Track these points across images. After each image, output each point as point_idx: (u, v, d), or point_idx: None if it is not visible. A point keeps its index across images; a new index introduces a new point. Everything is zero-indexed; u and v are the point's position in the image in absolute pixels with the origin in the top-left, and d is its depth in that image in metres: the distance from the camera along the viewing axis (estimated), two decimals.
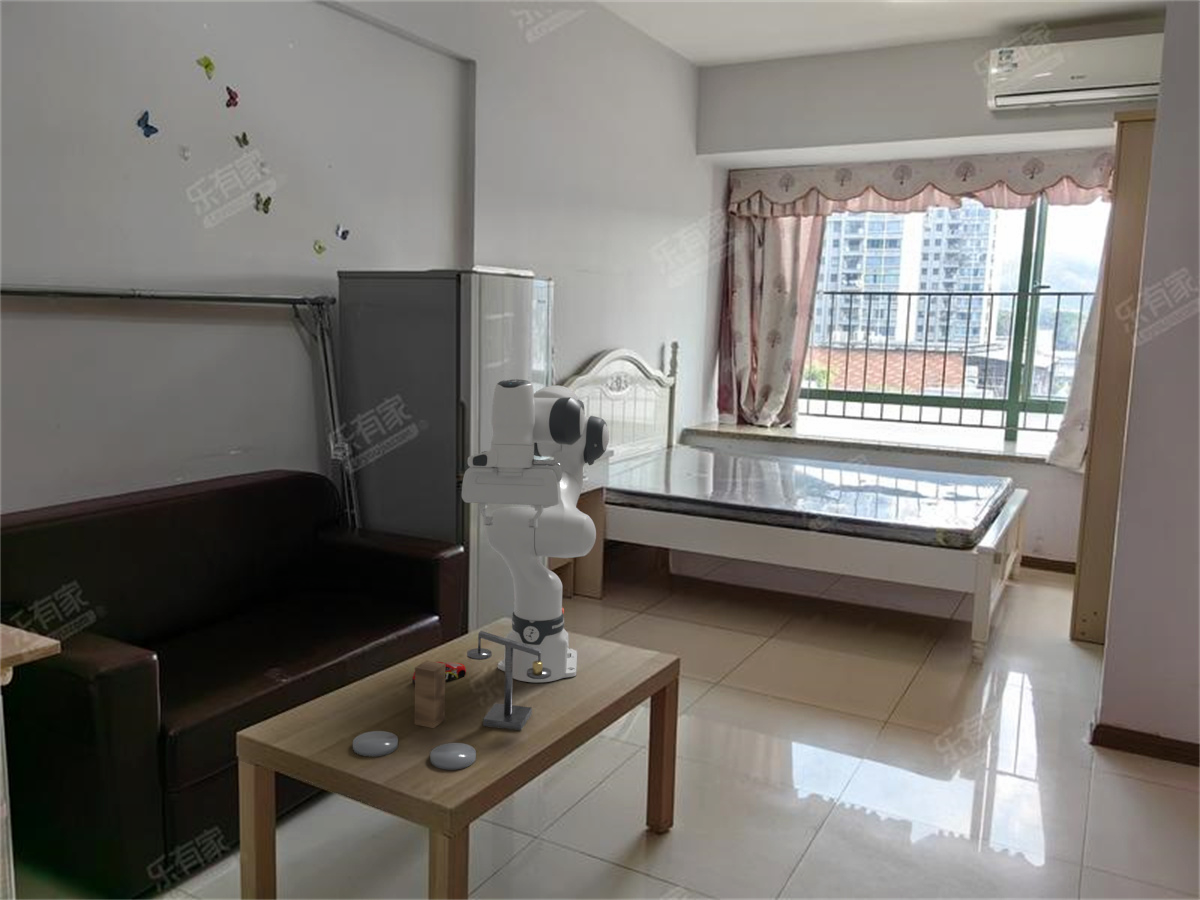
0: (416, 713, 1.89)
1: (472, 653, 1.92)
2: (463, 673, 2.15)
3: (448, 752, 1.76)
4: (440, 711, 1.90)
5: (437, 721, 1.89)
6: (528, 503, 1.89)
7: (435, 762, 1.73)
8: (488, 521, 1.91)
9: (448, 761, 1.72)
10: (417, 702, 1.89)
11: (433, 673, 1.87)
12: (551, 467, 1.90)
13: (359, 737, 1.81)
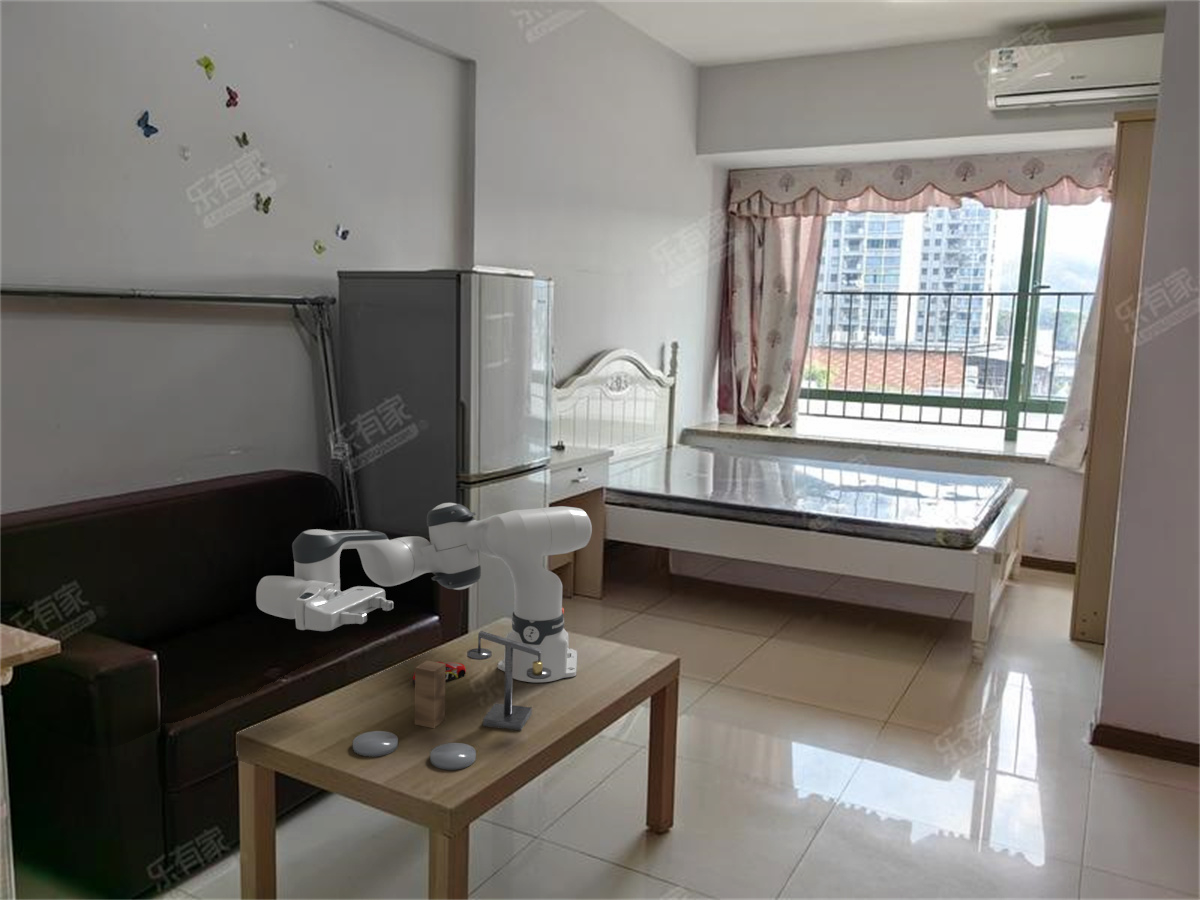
0: (416, 713, 1.89)
1: (472, 653, 1.92)
2: (463, 673, 2.15)
3: (448, 752, 1.76)
4: (440, 711, 1.90)
5: (437, 721, 1.89)
6: (369, 596, 1.98)
7: (435, 762, 1.73)
8: (361, 613, 1.88)
9: (448, 761, 1.72)
10: (417, 702, 1.89)
11: (433, 673, 1.87)
12: None
13: (359, 737, 1.81)
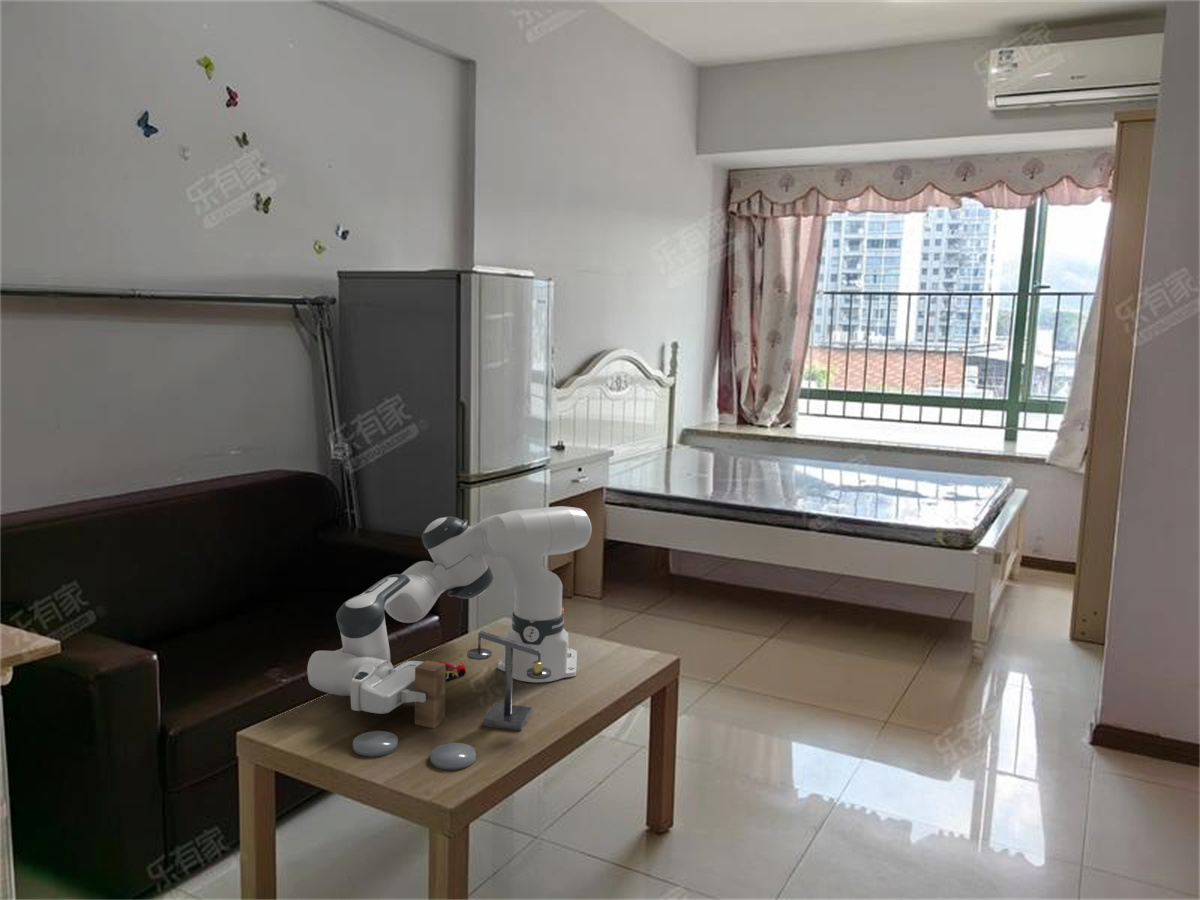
0: (416, 713, 1.89)
1: (472, 653, 1.92)
2: (463, 672, 2.16)
3: (448, 752, 1.76)
4: (440, 711, 1.90)
5: (437, 721, 1.89)
6: None
7: (435, 762, 1.73)
8: (423, 691, 1.88)
9: (448, 761, 1.72)
10: (417, 702, 1.89)
11: (433, 673, 1.87)
12: None
13: (359, 737, 1.81)
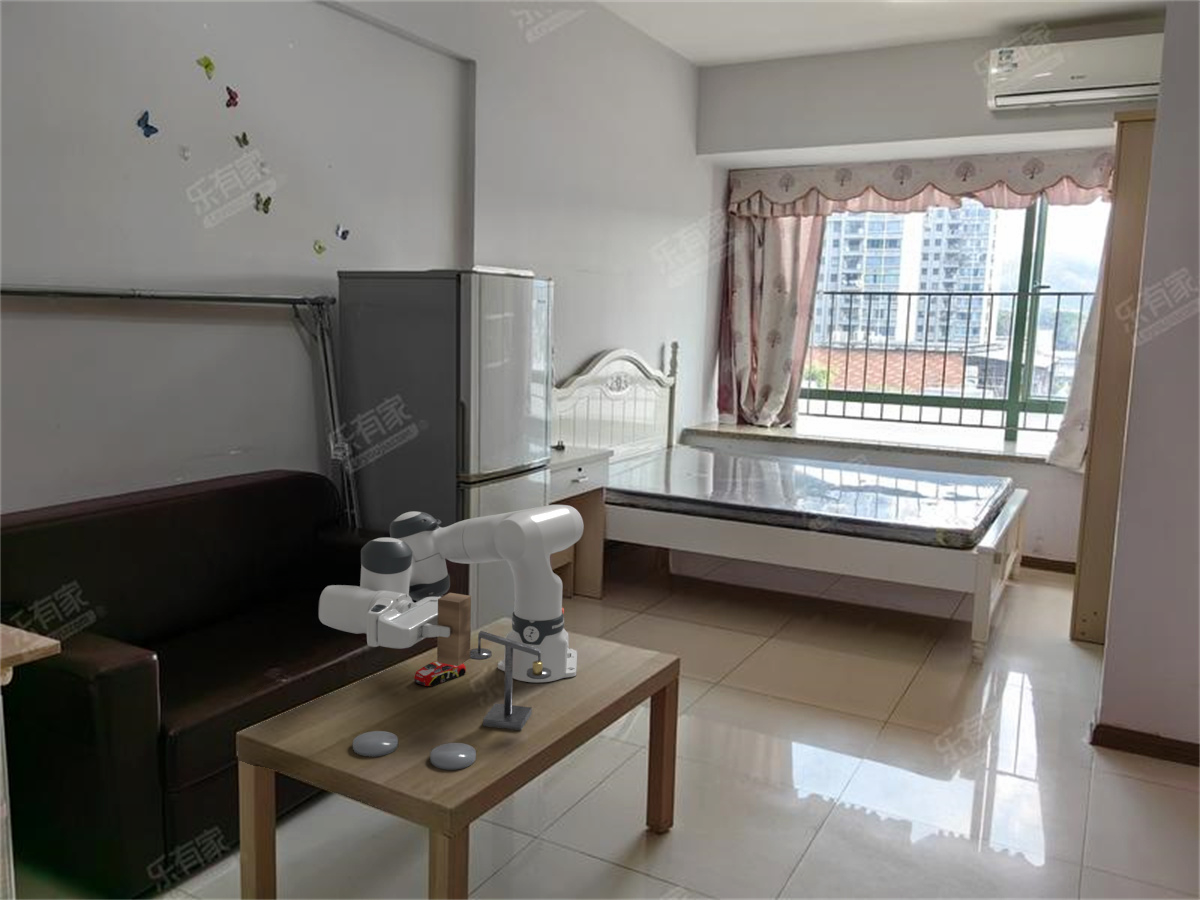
0: (439, 650, 1.71)
1: (472, 653, 1.92)
2: (463, 671, 2.16)
3: (448, 752, 1.76)
4: (465, 648, 1.72)
5: (462, 658, 1.71)
6: None
7: (435, 762, 1.73)
8: (447, 625, 1.70)
9: (448, 761, 1.72)
10: (440, 637, 1.71)
11: (458, 605, 1.69)
12: None
13: (359, 737, 1.81)
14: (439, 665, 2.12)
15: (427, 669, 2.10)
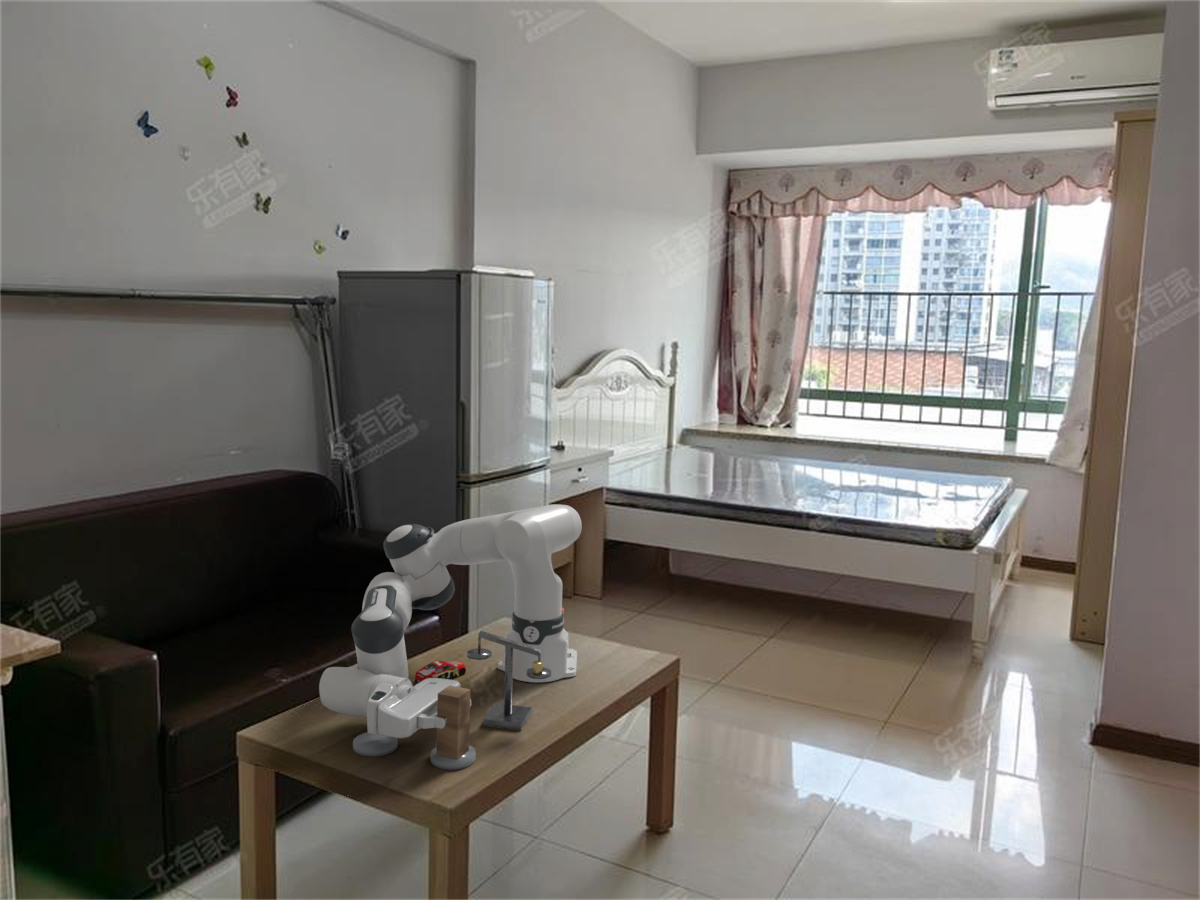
0: (438, 743, 1.74)
1: (472, 653, 1.92)
2: (463, 671, 2.16)
3: None
4: (464, 741, 1.75)
5: (461, 752, 1.74)
6: None
7: (435, 762, 1.73)
8: (441, 716, 1.70)
9: (448, 761, 1.72)
10: (439, 731, 1.73)
11: (457, 700, 1.71)
12: None
13: (359, 737, 1.81)
14: (440, 665, 2.12)
15: (428, 669, 2.11)
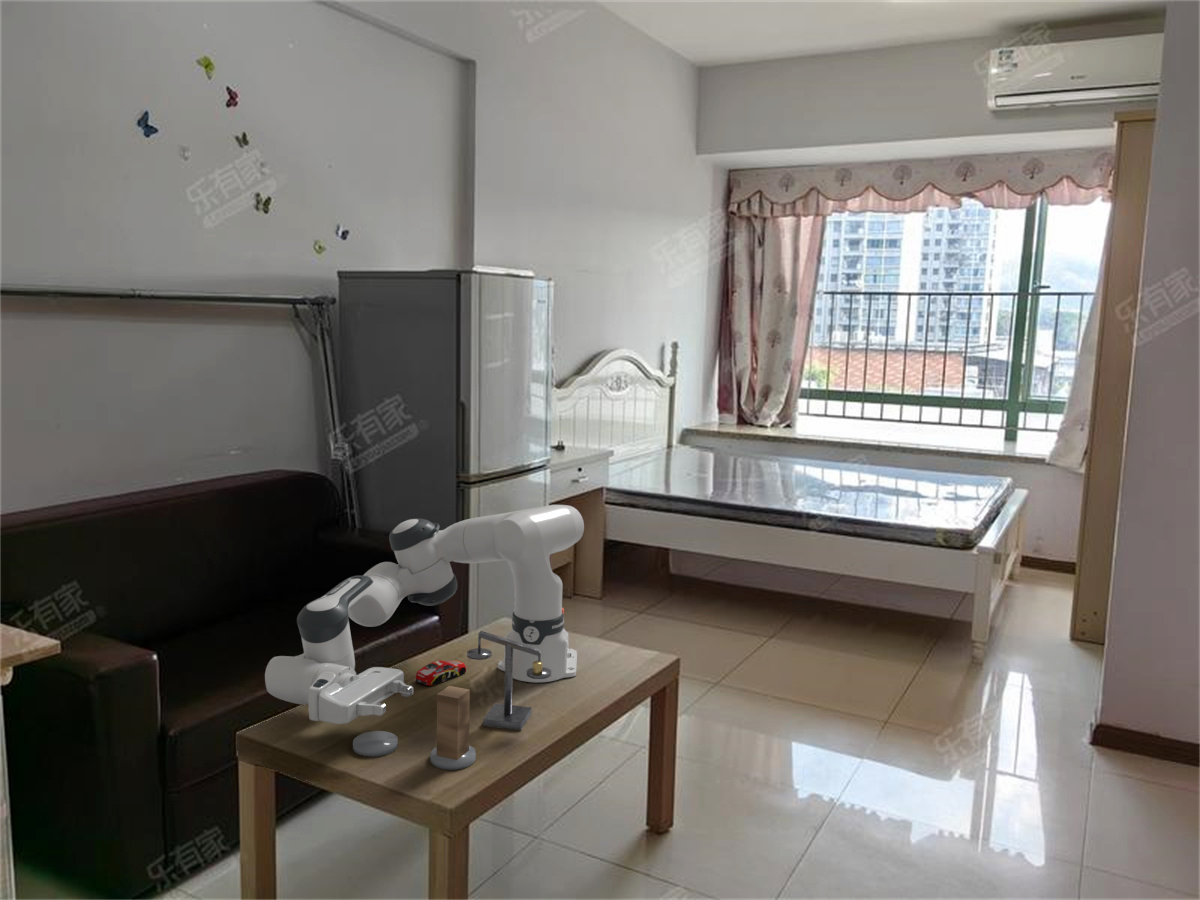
0: (438, 743, 1.74)
1: (472, 653, 1.92)
2: (464, 670, 2.17)
3: None
4: (464, 741, 1.75)
5: (461, 752, 1.74)
6: (387, 680, 1.84)
7: (435, 762, 1.73)
8: (380, 704, 1.75)
9: (448, 761, 1.72)
10: (439, 732, 1.73)
11: (457, 700, 1.71)
12: None
13: (359, 737, 1.81)
14: (440, 665, 2.12)
15: (428, 669, 2.11)
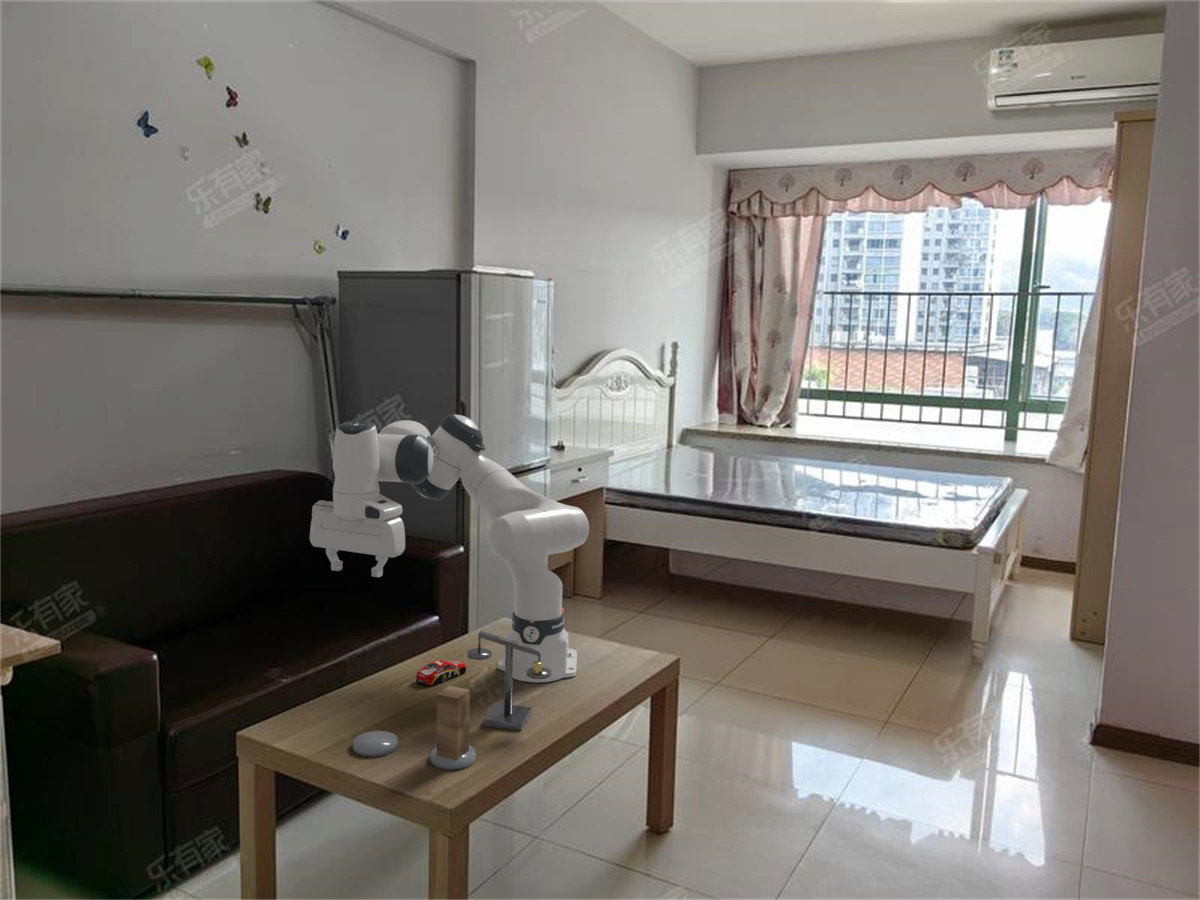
0: (438, 743, 1.74)
1: (472, 653, 1.92)
2: (464, 670, 2.17)
3: None
4: (464, 741, 1.75)
5: (461, 752, 1.74)
6: None
7: (435, 762, 1.73)
8: None
9: (448, 761, 1.72)
10: (439, 732, 1.73)
11: (457, 700, 1.71)
12: None
13: (359, 737, 1.81)
14: (440, 664, 2.12)
15: (429, 668, 2.11)
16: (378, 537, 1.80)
